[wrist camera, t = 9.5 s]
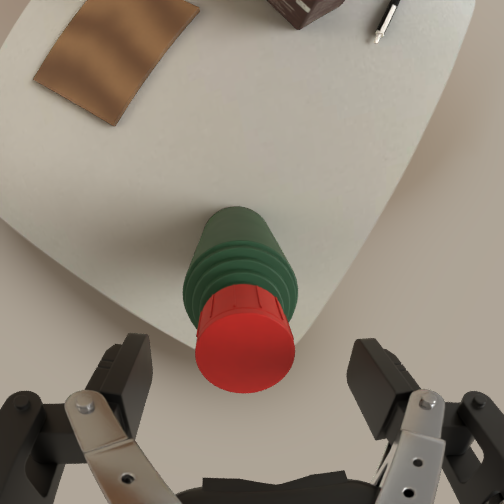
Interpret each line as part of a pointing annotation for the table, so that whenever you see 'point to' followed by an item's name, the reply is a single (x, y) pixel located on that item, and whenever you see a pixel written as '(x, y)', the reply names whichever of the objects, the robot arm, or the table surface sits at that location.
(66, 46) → the plate
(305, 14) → the box
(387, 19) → the pen
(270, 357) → the cap
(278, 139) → the table surface
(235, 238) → the bottle
